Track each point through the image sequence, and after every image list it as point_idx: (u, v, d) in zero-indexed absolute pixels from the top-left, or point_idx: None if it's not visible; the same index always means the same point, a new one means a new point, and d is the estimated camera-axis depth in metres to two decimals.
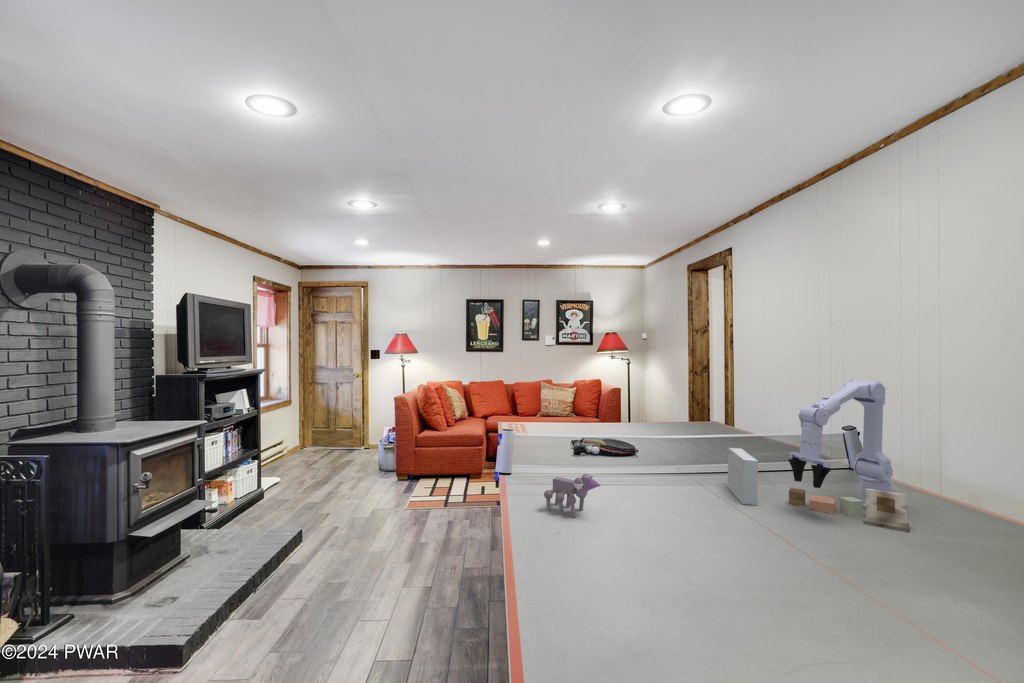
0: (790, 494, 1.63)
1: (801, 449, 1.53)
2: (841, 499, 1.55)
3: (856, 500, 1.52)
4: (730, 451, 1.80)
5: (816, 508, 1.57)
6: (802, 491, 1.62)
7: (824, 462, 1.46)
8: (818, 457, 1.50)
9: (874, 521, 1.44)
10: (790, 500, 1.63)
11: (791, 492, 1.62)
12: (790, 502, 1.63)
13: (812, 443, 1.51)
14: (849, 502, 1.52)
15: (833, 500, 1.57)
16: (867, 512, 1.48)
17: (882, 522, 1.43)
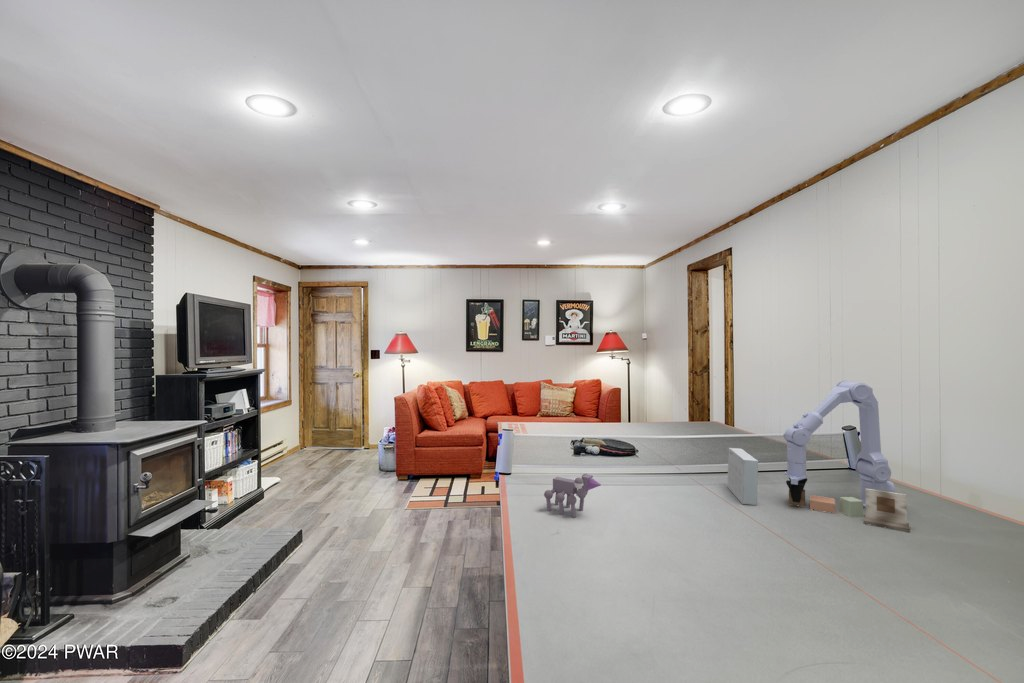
0: (790, 494, 1.63)
1: None
2: (841, 499, 1.55)
3: (856, 500, 1.52)
4: (730, 451, 1.80)
5: (817, 508, 1.57)
6: (802, 491, 1.62)
7: (790, 479, 1.59)
8: (798, 475, 1.61)
9: (874, 521, 1.44)
10: (790, 500, 1.63)
11: None
12: (790, 502, 1.63)
13: (794, 462, 1.61)
14: (849, 502, 1.52)
15: (833, 500, 1.58)
16: (867, 512, 1.48)
17: (882, 522, 1.43)
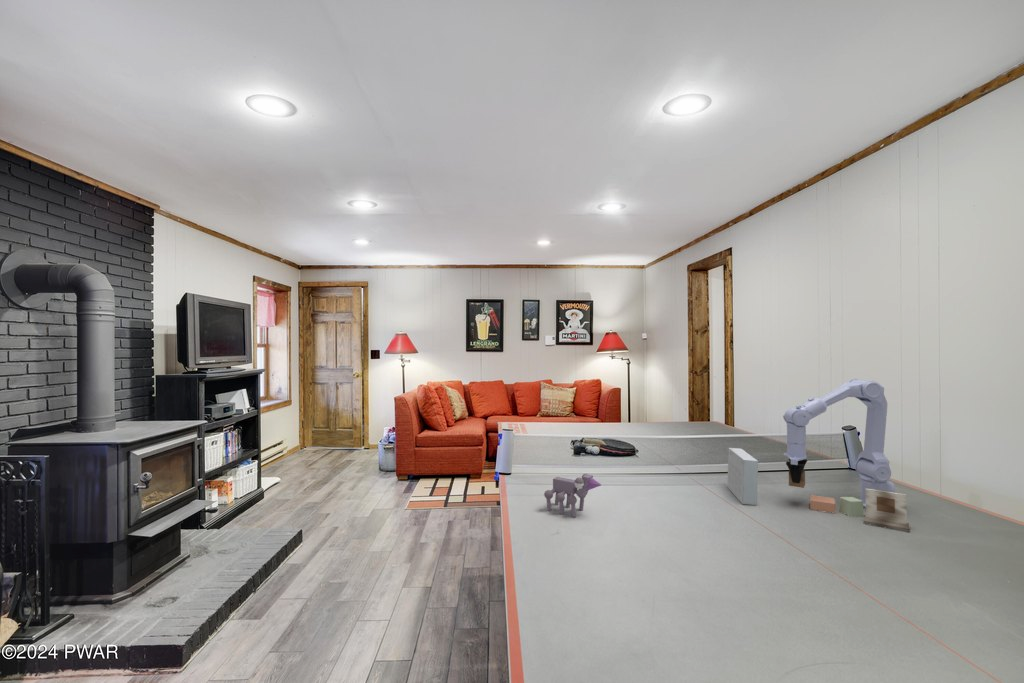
0: (790, 475, 1.63)
1: None
2: (841, 499, 1.55)
3: (856, 500, 1.52)
4: (730, 451, 1.80)
5: (817, 508, 1.57)
6: (802, 472, 1.62)
7: (790, 459, 1.59)
8: (797, 455, 1.61)
9: (874, 521, 1.44)
10: (790, 481, 1.63)
11: None
12: (790, 483, 1.63)
13: (794, 443, 1.62)
14: (849, 502, 1.52)
15: (833, 500, 1.58)
16: (867, 512, 1.48)
17: (882, 522, 1.43)
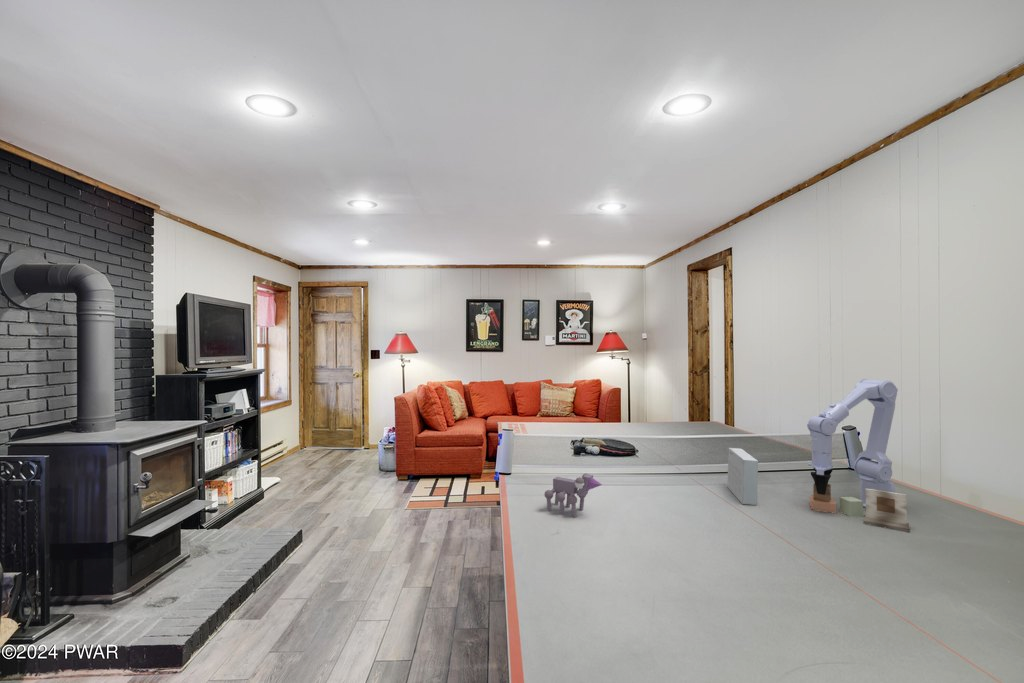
0: (815, 489, 1.58)
1: None
2: (841, 499, 1.55)
3: (856, 500, 1.52)
4: (730, 451, 1.80)
5: (818, 509, 1.56)
6: (827, 486, 1.57)
7: (816, 469, 1.54)
8: (823, 465, 1.56)
9: (874, 521, 1.44)
10: (815, 494, 1.58)
11: None
12: (815, 497, 1.58)
13: (821, 452, 1.57)
14: (849, 502, 1.52)
15: (833, 500, 1.58)
16: (867, 512, 1.48)
17: (882, 522, 1.43)
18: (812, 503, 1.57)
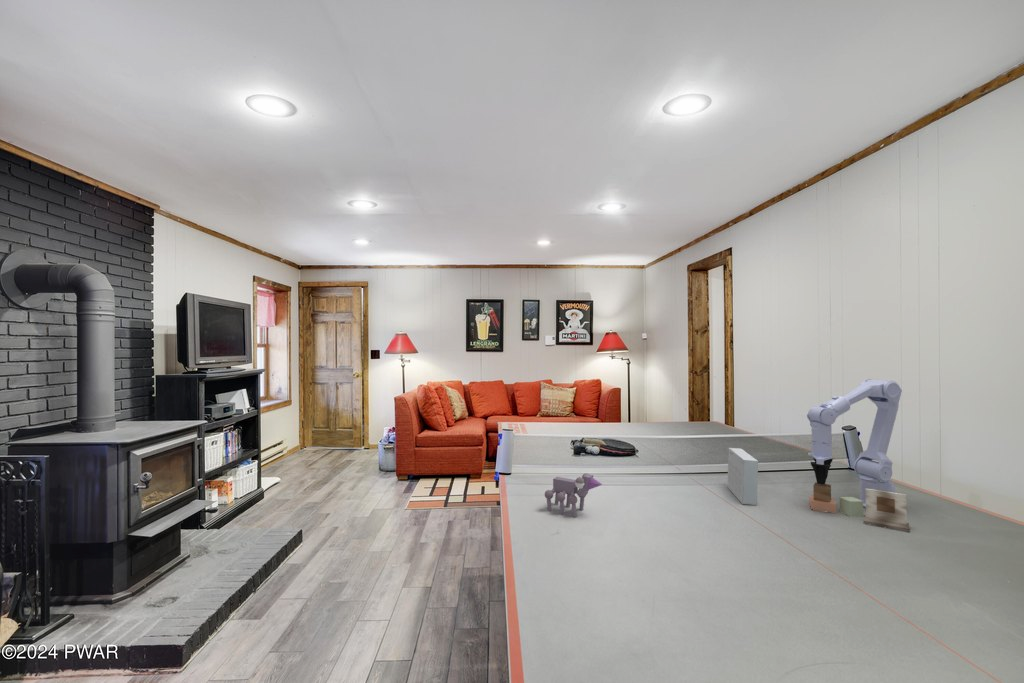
0: (815, 489, 1.58)
1: None
2: (841, 499, 1.55)
3: (856, 500, 1.52)
4: (730, 451, 1.80)
5: (818, 509, 1.56)
6: (827, 486, 1.57)
7: (816, 459, 1.54)
8: (823, 455, 1.56)
9: (874, 521, 1.44)
10: (815, 495, 1.58)
11: (816, 487, 1.58)
12: (815, 497, 1.58)
13: (821, 442, 1.57)
14: (849, 502, 1.52)
15: (833, 500, 1.58)
16: (867, 512, 1.48)
17: (882, 522, 1.43)
18: (812, 503, 1.57)
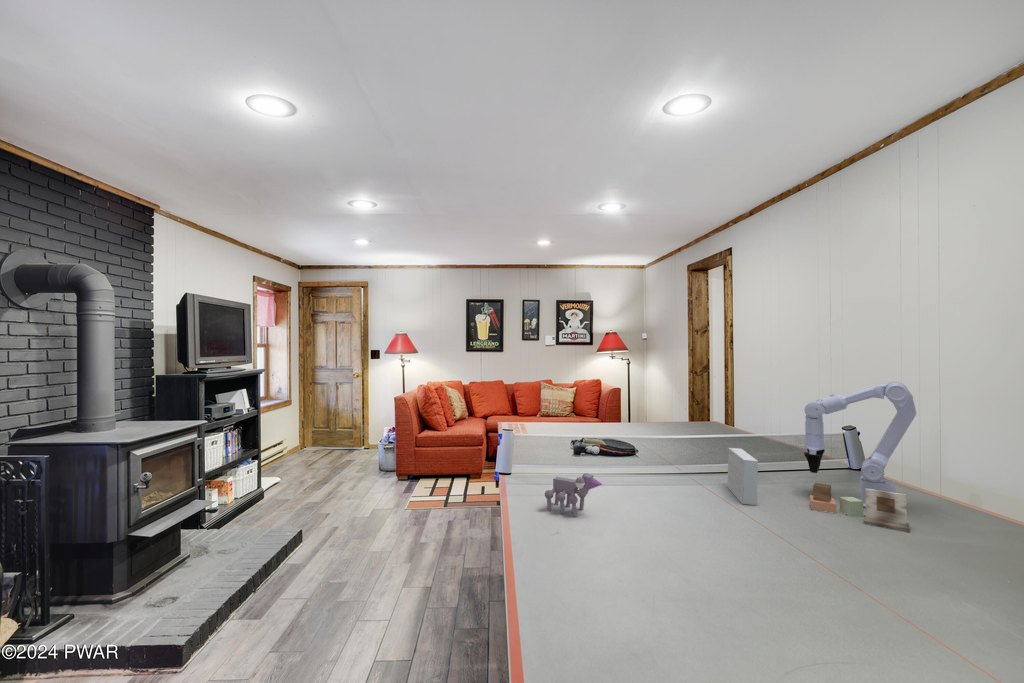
0: (815, 489, 1.58)
1: None
2: (841, 499, 1.55)
3: (856, 500, 1.52)
4: (730, 451, 1.80)
5: (818, 509, 1.56)
6: (827, 486, 1.57)
7: (809, 450, 1.68)
8: (816, 446, 1.70)
9: (874, 521, 1.44)
10: (815, 495, 1.58)
11: (815, 486, 1.58)
12: (814, 497, 1.58)
13: (807, 433, 1.72)
14: (849, 502, 1.52)
15: (833, 500, 1.58)
16: (867, 512, 1.48)
17: (882, 522, 1.43)
18: (812, 503, 1.57)
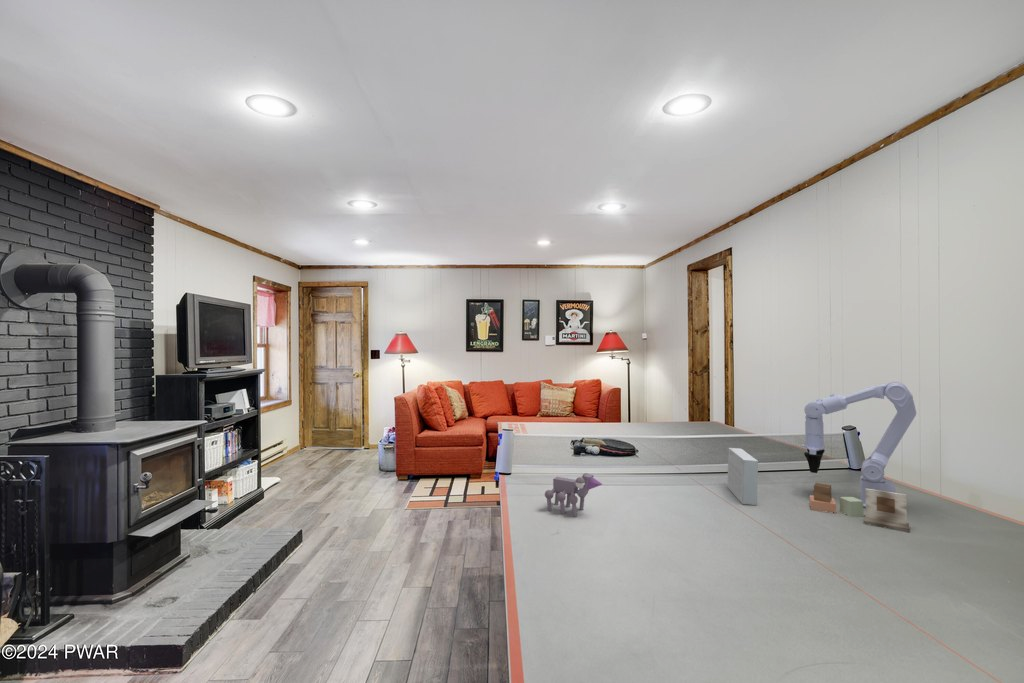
0: (815, 489, 1.58)
1: None
2: (841, 499, 1.55)
3: (856, 500, 1.52)
4: (730, 451, 1.80)
5: (818, 509, 1.57)
6: (828, 486, 1.57)
7: (809, 450, 1.68)
8: (816, 446, 1.70)
9: (874, 521, 1.44)
10: (815, 495, 1.58)
11: (816, 487, 1.58)
12: (815, 497, 1.58)
13: (807, 433, 1.72)
14: (849, 502, 1.52)
15: (833, 500, 1.58)
16: (867, 512, 1.48)
17: (882, 522, 1.43)
18: (812, 503, 1.57)
